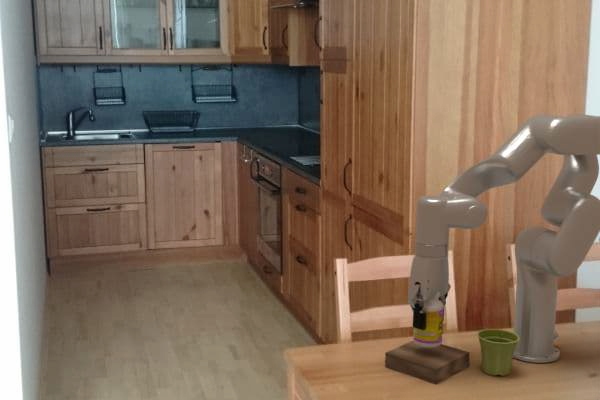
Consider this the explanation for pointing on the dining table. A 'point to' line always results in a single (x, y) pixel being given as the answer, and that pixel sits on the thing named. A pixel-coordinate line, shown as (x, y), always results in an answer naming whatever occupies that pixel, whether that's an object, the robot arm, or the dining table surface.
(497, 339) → the plant pot
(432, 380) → the brown wooden square slab
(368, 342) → the dining table surface
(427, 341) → the supplement bottle
